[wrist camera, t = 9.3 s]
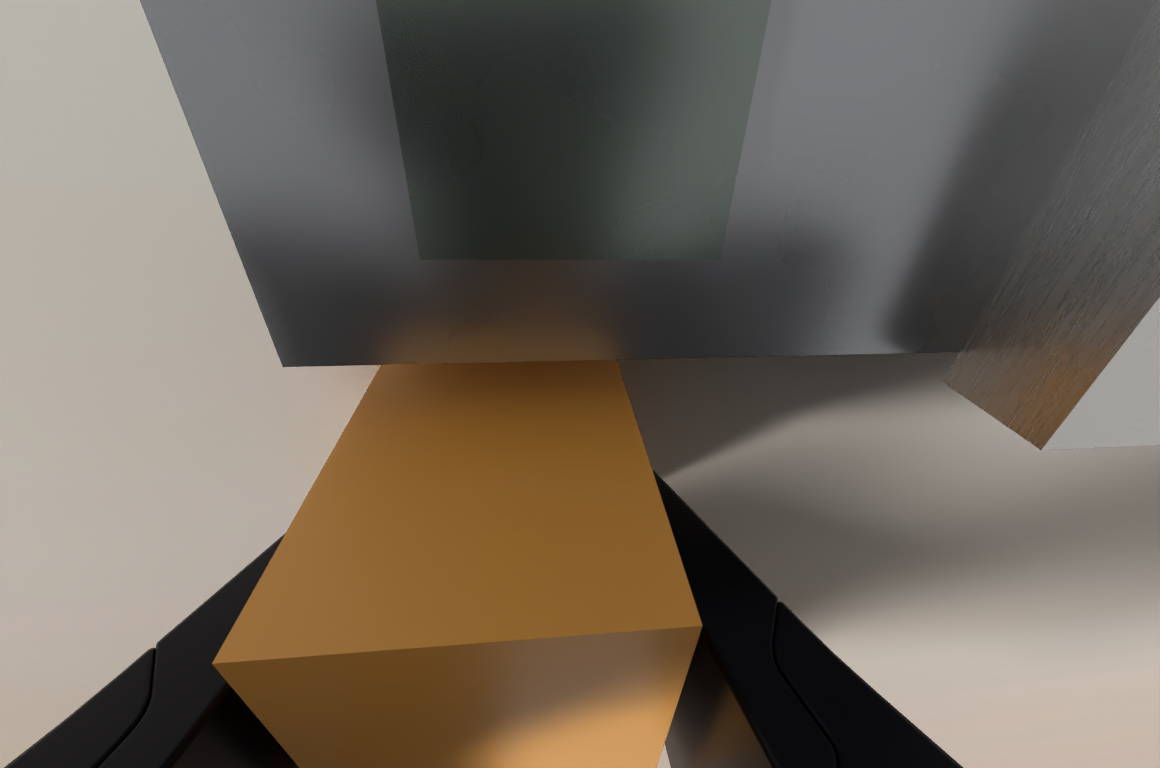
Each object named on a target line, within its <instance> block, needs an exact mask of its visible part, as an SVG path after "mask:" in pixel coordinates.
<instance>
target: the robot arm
mask: <svg viewBox="0 0 1160 768" xmlns="http://www.w3.org/2000/svg"><path fill="white" fill-rule="evenodd" d="M652 471H653V474H654V477H655V480H656V483H657V486H658V489H659V492H660V495H661V498H662V502H663V505H664V508H665V511H666V514H667V517H668V520H669V523H670V526H671V530H672V533H673V536H674V539H675V542H676V545H677V548H678V551H679V554H680V557H681V561H682V564H683V567H684V570H685V573H686V576H687V579H688V582H689V585H690V588H691V592H692V595H693V598H694V601H695V604H696V607H697V610H698V613H699V616H700V619H701V623H702V629H701V632H700V635H699V638H698V641H697V645H696V648H695V651H694V654H693V657H692V660H691V663H690V666H689V669H688V672H687V675H686V679H685V682H684V685H683V688H682V691H681V694H680V697H679V700H678V703H677V706H676V709H675V713H674V716H673V719H672V722H671V725H670V728H669V731H668V734H667V737H666V740H665V746H666V750H667V754H668V758H669V762H670V766H671V768H963V767H962V766H961V765H960V764H958V763H957V762H956V761H955V760H954V759H953V758H952V757H950V756H949V755H948V754H947V753H946V752H945V751H944V750H942V749H941V748H940V747H939V746H938V745H937V744H936V743H934V742H933V741H932V740H931V739H930V738H929V737H928V736H926V735H925V734H924V733H923V732H922V731H921V730H920V729H918V728H917V727H916V726H915V725H914V724H913V723H912V722H910V721H909V720H908V719H907V718H906V717H905V716H904V715H902V714H901V713H900V712H899V711H898V710H897V709H896V708H894V707H893V706H892V705H891V704H890V703H889V702H888V701H886V700H885V699H884V698H883V697H882V696H881V695H880V694H878V693H877V692H876V691H875V690H874V689H873V688H872V687H871V686H869V685H868V684H867V683H866V682H865V681H864V680H863V679H862V678H861V677H860V676H858V675H857V674H856V673H855V672H854V671H853V670H852V669H851V668H850V667H848V666H847V665H846V664H845V663H844V662H843V661H842V660H841V659H840V658H839V657H837V656H836V655H835V654H834V653H833V652H832V651H831V650H830V649H829V648H828V647H827V646H826V645H825V644H824V643H823V642H822V641H821V640H820V639H819V638H818V637H817V636H816V635H815V634H814V633H813V632H812V631H811V630H810V629H809V628H808V627H807V626H806V625H805V624H804V623H803V622H802V621H801V620H800V619H799V618H798V617H797V616H796V615H795V614H794V613H793V612H792V611H791V610H790V609H789V608H788V607H787V606H786V605H785V604H784V603H783V602H778V597H777V596H776V595H775V594H774V593H773V592H772V591H771V590H770V589H769V588H768V587H767V586H766V585H765V584H764V583H763V582H762V581H761V580H760V579H759V578H758V577H757V576H756V575H755V574H754V573H753V572H752V571H751V570H750V569H749V567H748V566H747V565H746V564H745V563H744V562H743V561H742V560H741V559H740V558H739V557H738V556H737V555H736V554H735V553H734V552H733V551H732V550H731V549H730V548H729V547H728V546H727V545H726V544H725V543H724V542H723V541H722V540H721V539H720V538H719V537H718V536H717V535H716V534H715V533H714V532H713V531H712V530H711V529H710V528H709V527H708V526H707V525H706V524H705V522H704V521H703V520H702V519H701V518H700V517H699V516H698V515H697V514H696V513H695V512H694V511H693V510H692V509H691V508H690V507H689V506H688V505H687V504H686V503H685V502H684V501H683V500H682V499H681V498H680V497H679V496H678V495H677V494H676V493H675V492H674V491H673V490H672V489H671V488H670V487H669V486H668V485H667V484H666V483H665V482H664V481H663V480H662V478H661V477H660V476H659V475H658V474H657V473H656V472H655V471H654V470H653V469H652ZM285 534H286V533H285ZM285 534H284V535H283V536H282V537H280V538H279V539H278V540H277V541H276V542H275V543H273V544H272V545H271V546H270V547H269V548H268V549H266V550H265V551H264V552H263V553H262V554H261V555H259V556H258V557H257V558H256V559H255V560H254V561H252V562H251V563H250V564H249V565H248V566H246V567H245V568H244V569H243V570H242V571H241V572H239V573H238V574H237V575H236V576H235V577H234V578H232V579H231V580H230V581H229V582H228V583H227V584H225V585H224V586H223V587H222V588H221V589H220V590H218V591H217V592H216V593H215V594H214V595H212V596H211V597H210V598H209V599H208V600H207V601H205V602H204V603H203V604H202V605H201V606H200V607H198V608H197V609H196V610H195V611H194V612H193V613H191V614H190V615H189V616H188V617H187V618H186V619H184V620H183V621H182V622H181V623H180V624H178V625H177V626H176V627H175V628H174V629H173V630H171V631H170V632H169V633H168V634H167V635H166V636H164V637H163V638H162V639H161V640H160V641H159V642H158V643H157V645H156V648H151V649H149V650H148V651H147V652H145V653H144V654H143V655H142V656H141V657H139V658H138V659H137V660H136V661H135V662H134V663H132V664H131V665H130V666H129V667H128V668H127V669H125V670H124V671H123V672H122V673H121V674H120V675H118V676H117V677H116V678H115V679H114V680H112V681H111V682H110V683H109V684H107V685H106V686H105V687H104V688H103V689H101V690H100V691H99V692H98V693H97V694H95V695H94V696H93V697H92V698H91V699H89V700H88V701H87V702H86V703H85V704H83V705H82V706H81V707H80V708H78V709H77V710H76V711H75V712H74V713H72V714H71V715H70V716H69V717H68V718H66V719H65V720H64V721H63V722H61V723H60V724H59V725H58V726H56V727H55V728H54V729H53V730H51V731H50V732H49V733H47V734H46V735H45V736H44V737H42V738H41V739H40V740H39V741H37V742H36V743H35V744H33V745H32V746H31V747H30V748H28V749H27V750H26V751H25V752H23V753H22V754H21V755H19V756H18V757H17V758H16V759H14V760H13V761H12V762H11V763H9V764H8V765H7V766H5V767H4V768H299V767H298V765H297V764H296V763H295V762H294V761H293V759H292V758H291V757H290V756H289V755H288V753H287V752H286V751H285V750H284V749H283V748H282V746H281V745H280V744H279V743H278V742H277V740H276V739H275V738H274V737H273V736H272V734H271V733H270V732H269V731H268V730H267V729H266V727H265V726H264V725H263V724H262V723H261V721H260V720H259V719H258V718H257V717H256V715H255V714H254V713H253V712H252V711H251V710H250V708H249V707H248V706H247V705H246V704H245V702H244V701H243V700H242V699H241V698H240V697H239V695H238V694H237V693H236V692H235V691H234V689H233V688H232V687H231V686H230V685H229V683H228V682H227V681H226V680H225V679H224V678H223V676H222V675H221V674H220V673H219V672H218V670H217V669H216V668H215V667H214V666H213V664H212V663H213V661H214V659H215V657H216V656H217V654H218V652H219V650H220V648H221V647H222V645H223V643H224V641H225V640H226V638H227V636H228V634H229V633H230V631H231V629H232V627H233V626H234V624H235V622H236V620H237V619H238V617H239V615H240V613H241V611H242V610H243V608H244V606H245V604H246V603H247V601H248V599H249V597H250V596H251V594H252V592H253V590H254V589H255V587H256V585H257V583H258V581H259V580H260V578H261V576H262V574H263V573H264V571H265V569H266V567H267V566H268V564H269V562H270V560H271V559H272V557H273V555H274V553H275V551H276V550H277V548H278V546H279V544H280V543H281V541H282V539H283V537H284V536H285Z"/></svg>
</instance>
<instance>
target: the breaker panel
mask: <svg viewBox="0 0 1160 768" xmlns="http://www.w3.org/2000/svg"><path fill="white" fill-rule="evenodd" d="M140 2H141V4H142V7H143V9H144V12H145V14H146V17H147V20H148V22H149V25H150V27H151V30H152V32H153V35H154V38H155V40H156V43H157V45H158V48H159V50H160V53H161V55H162V58H163V61H164V63H165V66H166V68H167V71H168V73H169V76H170V79H171V81H172V84H173V86H174V89H175V91H176V94H177V97H178V99H179V102H180V104H181V107H182V109H183V112H184V114H185V117H186V120H187V122H188V125H189V127H190V130H191V132H192V135H193V138H194V140H195V143H196V145H197V148H198V150H199V153H200V156H201V158H202V161H203V163H204V166H205V168H206V171H207V173H208V176H209V179H210V181H211V184H212V186H213V189H214V191H215V194H216V197H217V199H218V202H219V204H220V207H221V209H222V212H223V215H224V217H225V220H226V222H227V225H228V227H229V230H230V232H231V235H232V238H233V240H234V243H235V245H236V248H237V250H238V253H239V256H240V258H241V261H242V263H243V266H244V268H245V271H246V274H247V276H248V279H249V281H250V284H251V286H252V289H253V291H254V294H255V297H256V299H257V302H258V304H259V307H260V309H261V312H262V315H263V317H264V320H265V322H266V325H267V327H268V330H269V333H270V335H271V338H272V340H273V343H274V345H275V348H276V351H277V353H278V356H279V358H280V361H281V363H282V366H283V367H299V366H345V365H390V364H436V363H482V362H528V361H573V360H619V359H665V358H711V357H756V356H802V355H848V354H894V353H939V352H959V354H958V356H957V357H956V359H955V361H954V363H953V365H952V366H951V368H950V370H949V372H948V374H947V375H946V377H945V379H944V381H943V383H945V384H946V385H948V386H949V387H951V388H952V389H954V390H955V391H956V392H958V393H959V394H961V395H962V396H964V397H965V398H967V399H968V400H969V401H971V402H972V403H974V404H975V405H977V406H978V407H980V408H981V409H982V410H984V411H985V412H987V413H988V414H990V415H991V416H993V417H994V418H995V419H997V420H998V421H1000V422H1001V423H1003V424H1004V425H1006V426H1007V427H1008V428H1010V429H1011V430H1013V431H1014V432H1016V433H1017V434H1019V435H1020V436H1021V437H1023V438H1024V439H1026V440H1027V441H1029V442H1030V443H1032V444H1033V445H1034V446H1036V447H1037V448H1039V449H1040V450H1056V449H1079V448H1101V447H1124V446H1147V445H1160V0H140Z"/></svg>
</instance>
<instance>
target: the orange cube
mask: <svg viewBox="0 0 1160 768" xmlns="http://www.w3.org/2000/svg"><path fill="white" fill-rule="evenodd" d="M701 629H702V623H701V619H700V616H699V613H698V610H697V607H696V604H695V601H694V598H693V595H692V592H691V588H690V585H689V582H688V579H687V576H686V573H685V570H684V567H683V564H682V561H681V557H680V554H679V551H678V548H677V545H676V542H675V539H674V536H673V533H672V530H671V526H670V523H669V520H668V517H667V514H666V511H665V508H664V505H663V502H662V498H661V495H660V492H659V489H658V486H657V483H656V480H655V477H654V474H653V471H652V467H651V464H650V461H649V458H648V455H647V452H646V449H645V446H644V443H643V440H642V436H641V433H640V430H639V427H638V424H637V421H636V418H635V415H634V412H633V409H632V405H631V402H630V399H629V396H628V393H627V390H626V387H625V384H624V381H623V378H622V374H621V371H620V368H619V365H618V362H617V360H573V361H528V362H482V363H436V364H390V365H381V366H380V368H379V370H378V372H377V373H376V375H375V377H374V379H373V380H372V382H371V384H370V386H369V387H368V389H367V391H366V393H365V394H364V396H363V398H362V400H361V402H360V403H359V405H358V407H357V409H356V410H355V412H354V414H353V416H352V417H351V419H350V421H349V423H348V424H347V426H346V428H345V430H344V432H343V433H342V435H341V437H340V439H339V440H338V442H337V444H336V446H335V447H334V449H333V451H332V453H331V454H330V456H329V458H328V460H327V462H326V463H325V465H324V467H323V469H322V470H321V472H320V474H319V476H318V477H317V479H316V481H315V483H314V484H313V486H312V488H311V490H310V492H309V493H308V495H307V497H306V499H305V500H304V502H303V504H302V506H301V507H300V509H299V511H298V513H297V514H296V516H295V518H294V520H293V521H292V523H291V525H290V527H289V529H288V530H287V532H286V534H285V536H284V537H283V539H282V541H281V543H280V544H279V546H278V548H277V550H276V551H275V553H274V555H273V557H272V559H271V560H270V562H269V564H268V566H267V567H266V569H265V571H264V573H263V574H262V576H261V578H260V580H259V581H258V583H257V585H256V587H255V589H254V590H253V592H252V594H251V596H250V597H249V599H248V601H247V603H246V604H245V606H244V608H243V610H242V611H241V613H240V615H239V617H238V619H237V620H236V622H235V624H234V626H233V627H232V629H231V631H230V633H229V634H228V636H227V638H226V640H225V641H224V643H223V645H222V647H221V648H220V650H219V652H218V654H217V656H216V657H215V659H214V661H213V663H212V664H213V666H214V667H215V668H216V669H217V670H218V672H219V673H220V674H221V675H222V676H223V678H224V679H225V680H226V681H227V682H228V683H229V685H230V686H231V687H232V688H233V689H234V691H235V692H236V693H237V694H238V695H239V697H240V698H241V699H242V700H243V701H244V702H245V704H246V705H247V706H248V707H249V708H250V710H251V711H252V712H253V713H254V714H255V715H256V717H257V718H258V719H259V720H260V721H261V723H262V724H263V725H264V726H265V727H266V729H267V730H268V731H269V732H270V733H271V734H272V736H273V737H274V738H275V739H276V740H277V742H278V743H279V744H280V745H281V746H282V748H283V749H284V750H285V751H286V752H287V753H288V755H289V756H290V757H291V758H292V759H293V761H294V762H295V763H296V764H297V765H298V767H299V768H657V765H658V762H659V759H660V756H661V753H662V750H663V747H664V743H665V740H666V737H667V734H668V731H669V728H670V725H671V722H672V719H673V716H674V713H675V709H676V706H677V703H678V700H679V697H680V694H681V691H682V688H683V685H684V682H685V679H686V675H687V672H688V669H689V666H690V663H691V660H692V657H693V654H694V651H695V648H696V645H697V641H698V638H699V635H700V632H701Z"/></svg>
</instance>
